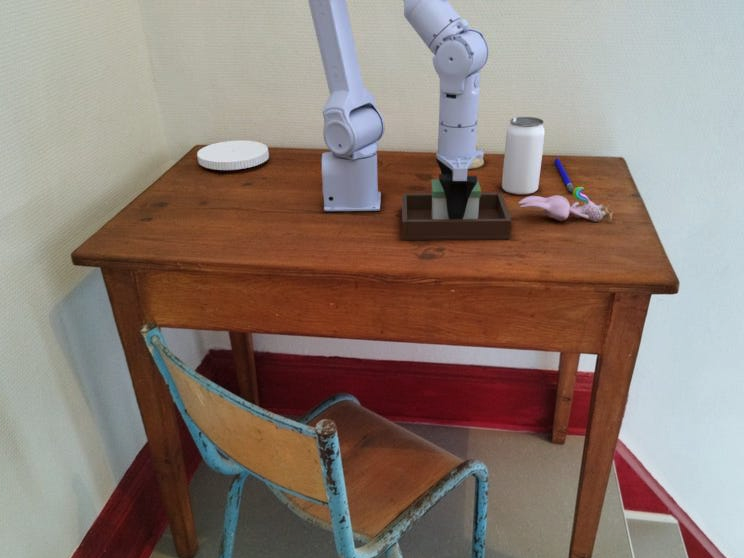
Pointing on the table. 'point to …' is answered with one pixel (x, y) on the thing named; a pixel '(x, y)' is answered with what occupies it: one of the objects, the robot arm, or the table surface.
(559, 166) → the pencil
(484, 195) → the tray
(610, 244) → the table surface
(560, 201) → the rabbit figure
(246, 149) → the plastic lid
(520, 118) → the can
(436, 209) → the container
